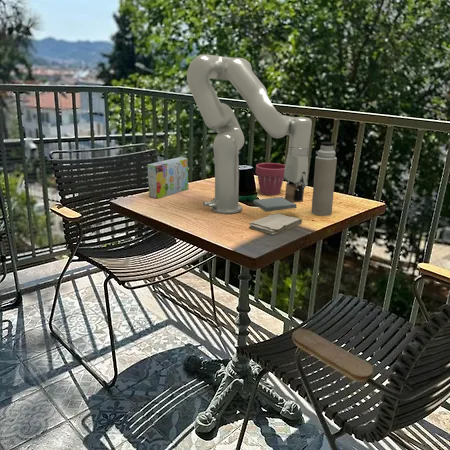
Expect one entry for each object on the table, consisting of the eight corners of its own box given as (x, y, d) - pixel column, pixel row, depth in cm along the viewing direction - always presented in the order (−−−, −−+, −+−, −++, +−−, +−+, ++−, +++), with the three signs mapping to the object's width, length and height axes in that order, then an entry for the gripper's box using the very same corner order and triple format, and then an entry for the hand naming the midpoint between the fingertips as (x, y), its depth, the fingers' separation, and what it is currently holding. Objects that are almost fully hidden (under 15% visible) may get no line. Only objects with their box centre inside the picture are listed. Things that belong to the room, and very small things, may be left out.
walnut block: (291, 202, 164) (292, 187, 162) (284, 199, 169) (286, 184, 167) (302, 201, 166) (304, 186, 164) (296, 198, 170) (297, 183, 168)
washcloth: (246, 229, 156) (247, 221, 154) (276, 217, 168) (276, 210, 167) (273, 237, 148) (274, 229, 147) (302, 224, 161) (302, 217, 160)
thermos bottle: (307, 212, 173) (312, 142, 164) (318, 208, 178) (324, 140, 169) (324, 217, 168) (330, 144, 159) (335, 212, 173) (342, 142, 164)
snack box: (180, 187, 209) (179, 156, 204) (189, 189, 206) (188, 158, 201) (148, 197, 193) (146, 163, 188) (157, 199, 190) (156, 165, 185)
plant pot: (291, 192, 202) (293, 165, 198) (274, 198, 192) (275, 170, 188) (266, 187, 211) (267, 161, 206) (248, 192, 201) (249, 165, 196)
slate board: (266, 211, 174) (266, 207, 174) (253, 203, 185) (253, 200, 184) (296, 207, 179) (296, 204, 179) (282, 200, 190) (282, 196, 189)
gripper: (278, 147, 167) (274, 193, 173) (302, 156, 152) (297, 205, 158) (295, 147, 170) (291, 191, 176) (320, 155, 155) (314, 204, 161)
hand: (294, 197), depth 167 cm, fingers closed on walnut block, 5 cm apart
